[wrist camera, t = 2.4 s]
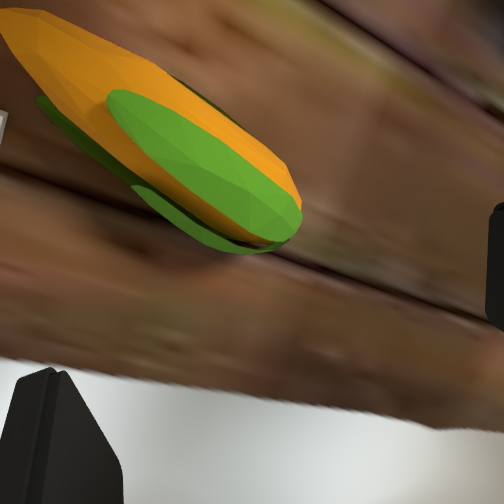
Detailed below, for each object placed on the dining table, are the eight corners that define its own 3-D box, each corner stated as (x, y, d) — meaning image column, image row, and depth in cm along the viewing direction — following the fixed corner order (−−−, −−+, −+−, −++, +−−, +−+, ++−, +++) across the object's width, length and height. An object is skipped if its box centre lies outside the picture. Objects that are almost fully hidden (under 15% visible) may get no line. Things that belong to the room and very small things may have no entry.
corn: (279, 303, 27) (-76, 90, 17) (241, 256, 33) (-30, 84, 24) (353, 206, 26) (23, -74, 16) (300, 177, 33) (42, -34, 23)
